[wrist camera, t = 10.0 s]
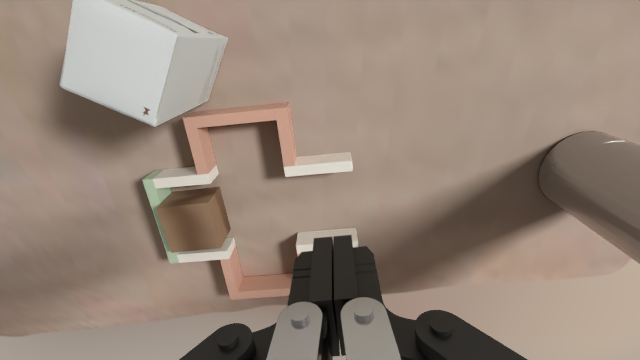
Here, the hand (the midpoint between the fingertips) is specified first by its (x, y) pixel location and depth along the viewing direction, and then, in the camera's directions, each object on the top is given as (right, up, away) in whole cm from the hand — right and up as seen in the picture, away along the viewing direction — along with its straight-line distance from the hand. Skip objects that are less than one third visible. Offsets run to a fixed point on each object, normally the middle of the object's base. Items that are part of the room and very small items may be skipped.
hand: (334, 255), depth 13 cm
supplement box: (-15, +16, +22) cm, 31 cm away
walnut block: (-15, -1, +29) cm, 33 cm away
